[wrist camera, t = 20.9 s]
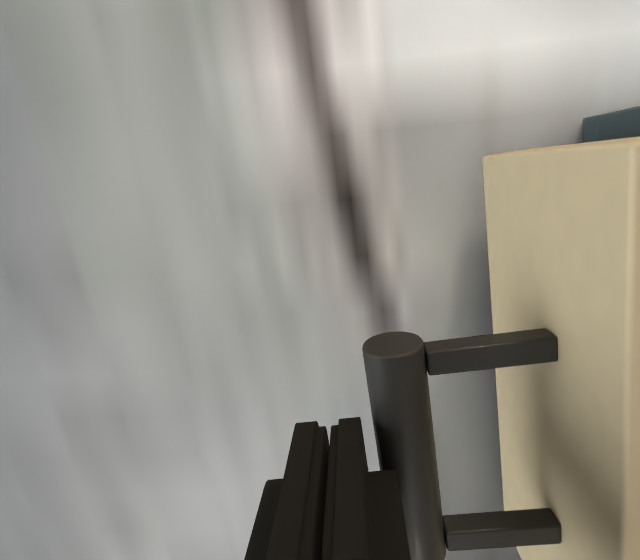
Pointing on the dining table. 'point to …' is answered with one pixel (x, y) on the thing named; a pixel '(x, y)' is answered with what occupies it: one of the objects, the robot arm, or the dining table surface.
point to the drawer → (537, 365)
